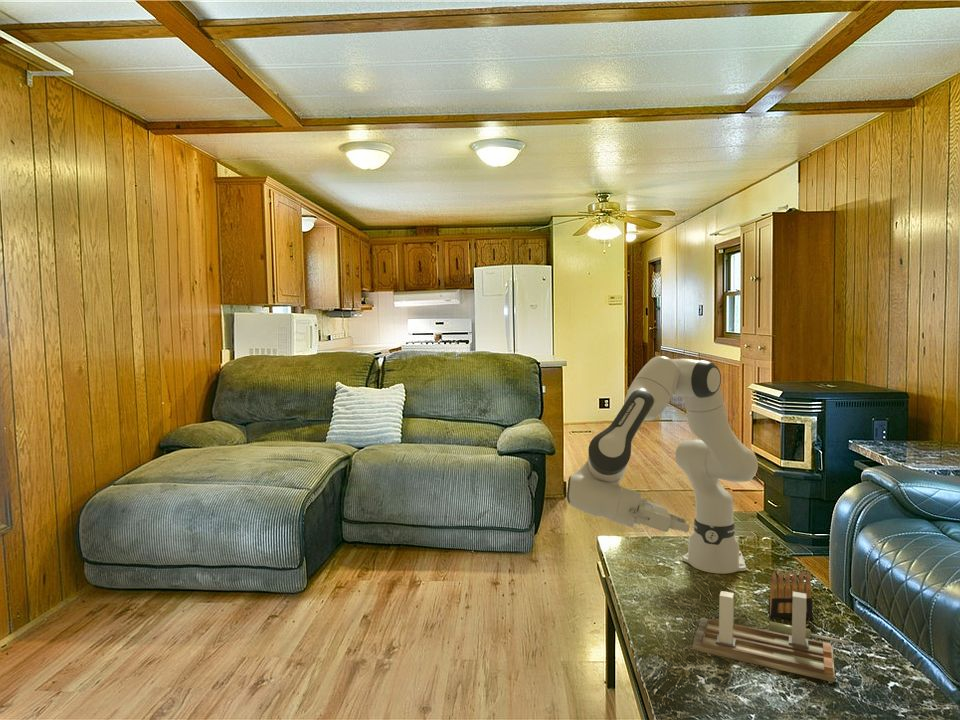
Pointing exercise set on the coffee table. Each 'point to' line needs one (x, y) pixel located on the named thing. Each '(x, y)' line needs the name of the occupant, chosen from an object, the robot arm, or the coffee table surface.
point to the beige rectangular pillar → (726, 620)
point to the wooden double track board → (768, 650)
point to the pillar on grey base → (799, 621)
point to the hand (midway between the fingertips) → (687, 525)
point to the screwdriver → (788, 630)
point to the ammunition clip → (788, 595)
